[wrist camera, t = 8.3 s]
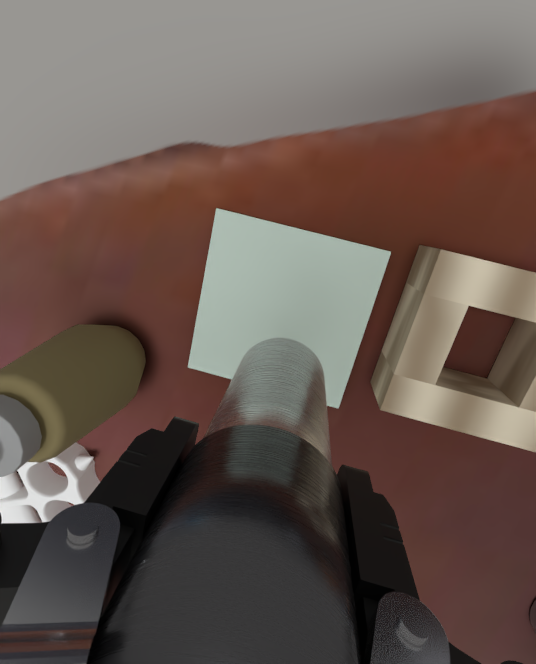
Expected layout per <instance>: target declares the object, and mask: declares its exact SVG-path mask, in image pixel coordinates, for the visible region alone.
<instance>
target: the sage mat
mask: <svg viewBox="0 0 536 664" xmlns="http://www.w3.org/2000/svg"><path fill="white" fill-rule="evenodd" d="M390 255H391V252H390V251H386V250H382V249H378V248H374V247H370V246H366V245H362V244H358V243H354V242H350V241H346V240H342V239H338V238H334V237H330V236H326V235H322V234H318V233H314V232H310V231H306V230H302V229H298V228H294V227H290V226H286V225H282V224H278V223H274V222H270V221H266V220H262V219H258V218H254V217H250V216H246V215H242V214H238V213H234V212H230V211H226V210H222V209H218V208H216V213H215V219H214V224H213V230H212V235H211V241H210V246H209V252H208V257H207V263H206V269H205V274H204V280H203V285H202V291H201V296H200V302H199V307H198V313H197V318H196V324H195V330H194V335H193V341H192V346H191V352H190V357H189V363H188V368H192V369H196V370H199V371H203V372H207V373H210V374H214V375H218V376H221V377H225V378H229V379H233V376H234V374H235V372H236V370H237V368H238V366H239V364H240V362H241V360H242V358H243V357H244V355H245V354H246V352H247V351H248V350H249V349H250V348H251V347H253V346H254V345H256V344H257V343H259V342H261V341H263V340H267V339H271V338H288V339H292V340H295V341H298V342H300V343H302V344H304V345H305V346H307V347H308V348H309V349H311V350H312V351H313V352H314V354H315V355H316V356H317V357H318V359H319V361H320V363H321V365H322V368H323V371H324V379H325V391H326V402H327V406H331V407H335V408H339V406H340V403H341V400H342V397H343V394H344V391H345V388H346V385H347V382H348V379H349V376H350V373H351V370H352V367H353V364H354V361H355V358H356V355H357V352H358V349H359V346H360V343H361V340H362V337H363V334H364V332H365V329H366V326H367V323H368V320H369V317H370V314H371V311H372V308H373V305H374V302H375V299H376V296H377V293H378V290H379V287H380V284H381V281H382V278H383V275H384V272H385V269H386V266H387V263H388V260H389V258H390Z"/></svg>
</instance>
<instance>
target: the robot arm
mask: <svg viewBox="0 0 536 664" xmlns="http://www.w3.org/2000/svg"><path fill="white" fill-rule="evenodd" d="M198 427H199V424H198V423H196V422H192V421H189V420H185V419H181V418H178V417H174V418H173V419H172V420H171V422H170V423H169V425H168V426H167V428H166V429H165V431H164V432H163V431H159V430H156V429H152V428H151V429H150V430H148V431H146V432H144V433H142V434H141V435H139V436H137V437H136V438H135V439H134V441H133V442H132V443H131V444H130V446H129V447H128V448H127V450H126V451H125V452H124V453H123V454H122V456H121V457H120V458H119V460H118V462H116V463H115V464H114V466H113V467H112V468H111V469H110V471H109V472H108V473H107V474H106V476H105V477H104V478H103V479H102V481H101V482H100V483H99V484H98V486H97V487H96V488H95V490H94V491H93V492H92V493H91V495H90V496H89V497H88V498H87V500H86V501H85V502H84V503H81V504H77V505H74V506H71V507H68V508H66V509H65V510H63V511H61V512H60V513H58V514H57V515H56V516H55V517H54V518H53V519H52V520H51V521H48V522H42V523H1V522H2V517H1V513H0V664H89V660H90V656H91V653H92V649H93V645H94V641H95V638H96V634H97V631H98V627H99V624H100V621H101V617H102V614H103V612H104V611H105V609H106V607H107V605H108V603H109V601H110V599H111V597H112V595H113V593H114V592H115V590H116V588H117V586H118V584H119V582H120V580H121V578H122V576H123V575H124V573H125V571H126V569H127V567H128V565H129V563H130V561H131V559H132V557H133V556H134V554H135V552H136V550H137V548H138V546H139V544H140V542H141V540H142V538H143V537H144V535H145V533H146V531H147V529H148V527H149V525H150V523H151V521H152V520H153V518H154V516H155V514H156V512H157V510H158V508H159V506H160V504H161V502H162V501H163V499H164V497H165V495H166V493H167V491H168V489H169V487H170V485H171V483H172V482H173V480H174V478H175V476H176V474H177V472H178V470H179V468H180V466H181V465H182V463H183V461H184V459H185V457H186V456H187V454H188V453H189V451H190V450H191V449H192V448H193V447H194V446H195V441H196V437H197V432H198ZM337 477H338V479H339V482H340V485H341V490H342V496H343V505H344V514H345V523H346V531H347V540H348V549H349V558H350V566H351V575H352V584H353V593H354V601H355V610H356V619H357V628H358V637H359V645H360V654H361V663H362V664H481V663H479V662H478V661H476V660H475V659H473V658H471V657H470V656H468V655H467V654H465V653H463V652H462V651H460V650H459V649H457V648H456V647H454V646H453V645H452V644H451V643H449V642H448V639H447V636H446V634H445V631H444V629H443V627H442V626H441V624H440V622H439V621H438V619H437V618H436V616H435V615H434V614H433V613H432V612H431V611H430V610H429V609H428V608H427V607H426V606H425V605H424V604H423V603H422V602H420V600H419V596H418V593H417V589H416V586H415V582H414V579H413V575H412V572H411V568H410V565H409V561H408V558H407V554H406V551H405V547H404V545H403V544H402V543H403V540H402V537H401V533H400V531H399V526H398V523H397V519H396V516H395V512H394V510H393V509H392V507H391V506H390V504H389V503H388V501H387V500H386V498H385V497H384V496H383V495H382V494H378V493H375V492H373V489H372V484H371V480H370V476H369V473H368V472H367V471H363V470H360V469H356V468H353V467H349V466H346V465H342V466H341V467H340V469H339V471H338V474H337ZM530 622H531V625H532V627H533V629H534V631H535V633H536V600H535V601H534V603H533V605H532V607H531V610H530ZM501 664H522V663H520V662H516V661H504V662H502V663H501Z"/></svg>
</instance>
